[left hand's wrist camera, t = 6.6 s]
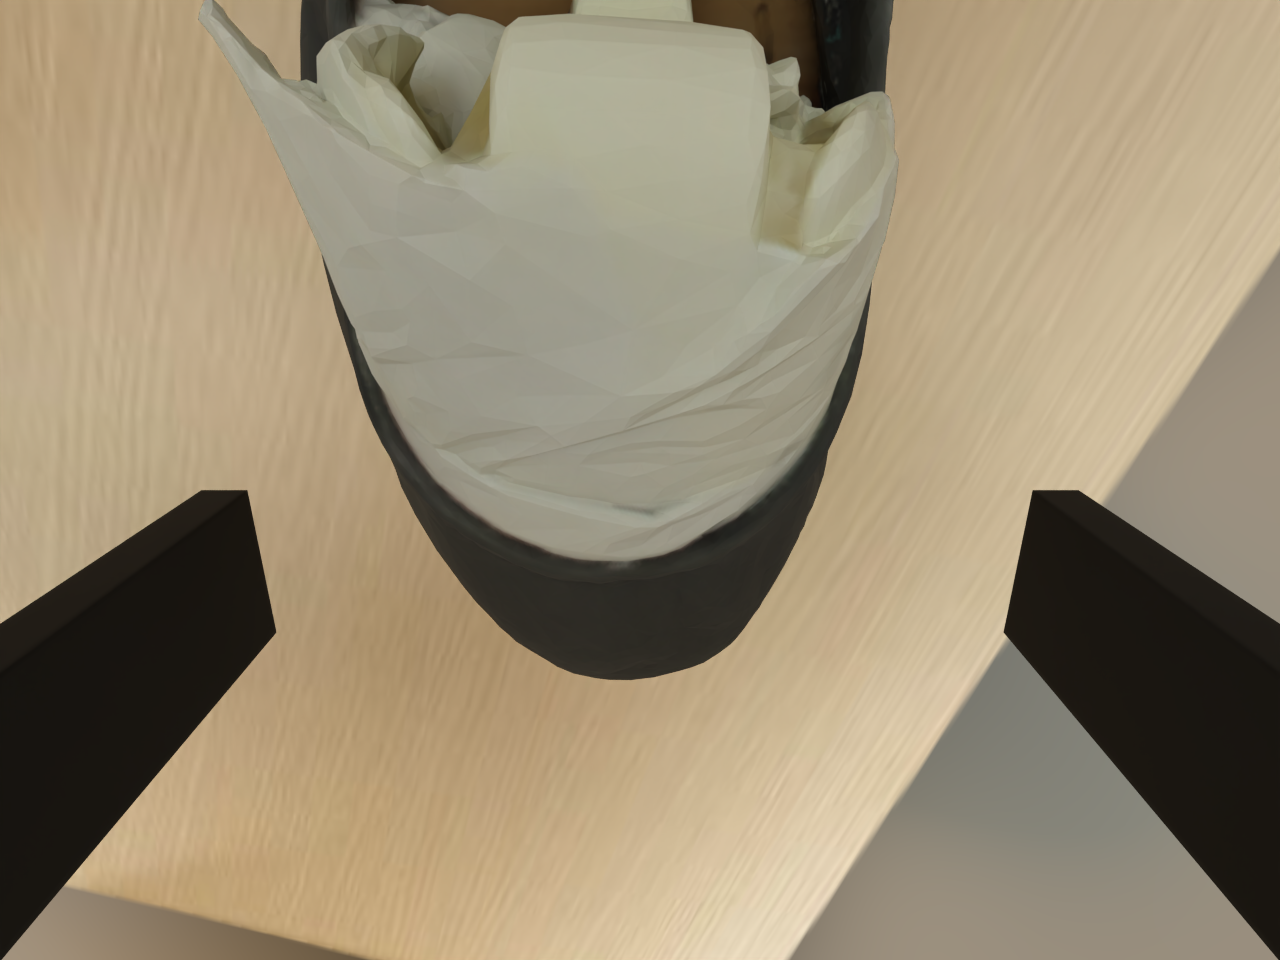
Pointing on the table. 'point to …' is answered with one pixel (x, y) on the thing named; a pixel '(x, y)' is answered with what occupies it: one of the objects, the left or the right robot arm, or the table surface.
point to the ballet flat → (596, 286)
